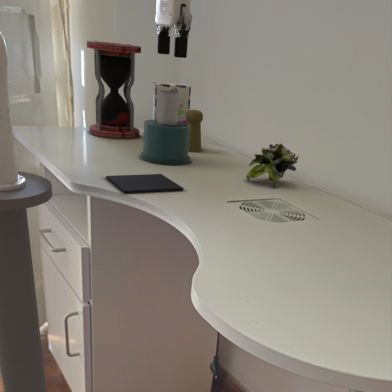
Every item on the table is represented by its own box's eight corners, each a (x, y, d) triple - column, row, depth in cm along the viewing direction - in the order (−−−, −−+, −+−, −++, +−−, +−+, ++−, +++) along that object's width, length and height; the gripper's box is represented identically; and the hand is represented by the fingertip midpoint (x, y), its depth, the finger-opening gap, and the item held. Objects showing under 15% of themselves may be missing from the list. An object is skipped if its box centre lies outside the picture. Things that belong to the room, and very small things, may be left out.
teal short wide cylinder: (152, 165, 123) (154, 128, 118) (133, 153, 132) (134, 118, 127) (198, 164, 128) (201, 128, 123) (176, 153, 138) (178, 119, 133)
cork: (205, 150, 145) (208, 111, 139) (194, 152, 141) (197, 112, 135) (189, 146, 148) (192, 107, 141) (177, 148, 143) (180, 108, 137)
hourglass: (117, 141, 144) (117, 45, 131) (78, 131, 151) (74, 39, 137) (148, 135, 156) (151, 47, 142) (111, 127, 163) (111, 41, 149)
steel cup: (162, 125, 122) (163, 92, 118) (153, 121, 126) (155, 89, 122) (180, 125, 125) (182, 93, 120) (171, 122, 128) (173, 90, 124)
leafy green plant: (267, 200, 125) (297, 162, 122) (279, 205, 115) (312, 164, 112) (235, 172, 121) (266, 132, 118) (245, 175, 111) (279, 131, 108)
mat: (124, 193, 100) (124, 190, 99) (106, 178, 108) (106, 175, 108) (183, 190, 106) (183, 187, 106) (161, 176, 114) (161, 173, 114)
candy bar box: (184, 140, 155) (188, 84, 146) (187, 143, 151) (192, 86, 142) (150, 138, 152) (152, 81, 143) (153, 142, 148) (155, 83, 139)
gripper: (146, -33, 112) (144, 51, 121) (177, -37, 99) (173, 57, 109) (174, -28, 115) (170, 53, 125) (208, -32, 103) (201, 60, 112)
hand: (171, 55), depth 117 cm, fingers open, 9 cm apart
